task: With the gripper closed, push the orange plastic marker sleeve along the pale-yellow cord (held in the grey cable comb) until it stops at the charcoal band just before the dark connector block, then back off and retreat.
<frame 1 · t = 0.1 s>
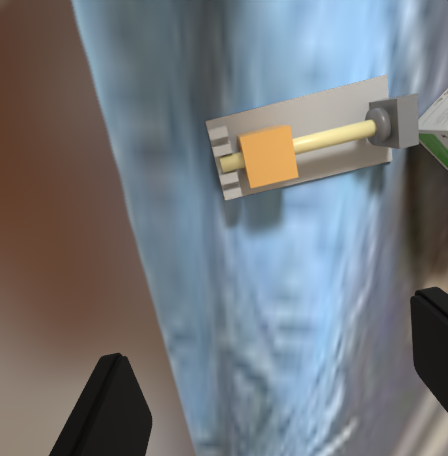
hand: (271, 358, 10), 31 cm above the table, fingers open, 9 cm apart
marker sleeve: (265, 154, 34), point 4 cm above the table, slide at 0.0 cm
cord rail: (300, 141, 38), on the table
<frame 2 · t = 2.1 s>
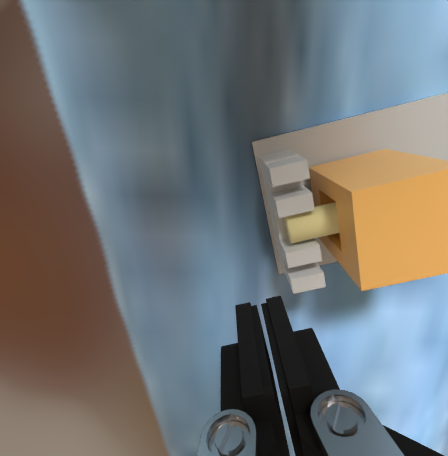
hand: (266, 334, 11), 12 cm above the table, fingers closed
marker sleeve: (374, 210, 17), point 4 cm above the table, slide at 0.0 cm
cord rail: (418, 176, 21), on the table
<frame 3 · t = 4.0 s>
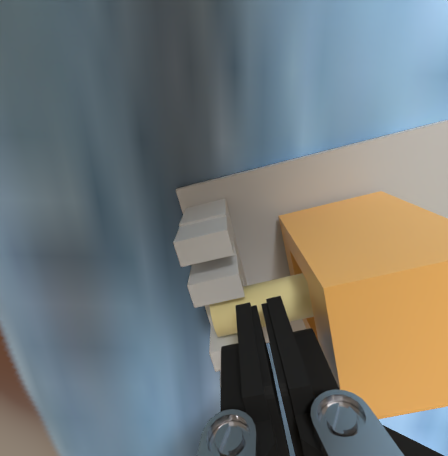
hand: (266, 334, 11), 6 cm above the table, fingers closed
marker sleeve: (367, 285, 12), point 4 cm above the table, slide at 1.3 cm, touching gripper
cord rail: (400, 229, 16), on the table
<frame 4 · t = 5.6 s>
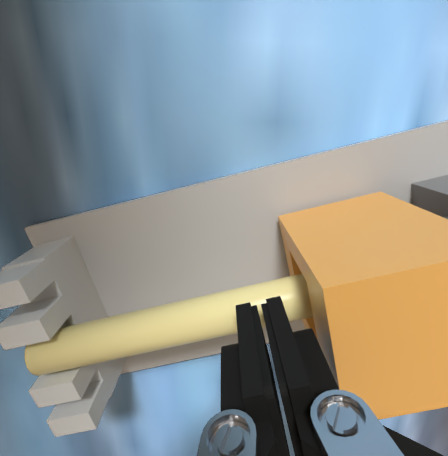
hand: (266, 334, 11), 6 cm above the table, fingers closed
marker sleeve: (366, 286, 12), point 4 cm above the table, slide at 9.3 cm, touching gripper
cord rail: (251, 264, 17), on the table
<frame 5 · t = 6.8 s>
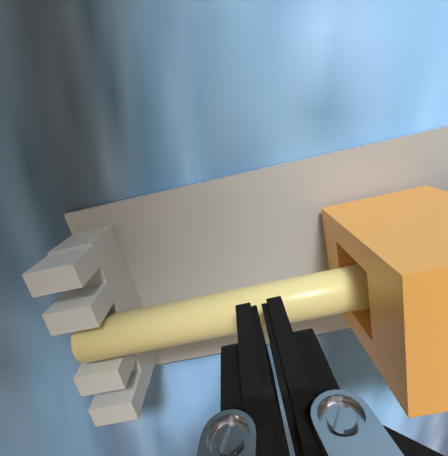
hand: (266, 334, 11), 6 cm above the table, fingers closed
marker sleeve: (419, 279, 12), point 4 cm above the table, slide at 9.2 cm
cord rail: (290, 256, 16), on the table
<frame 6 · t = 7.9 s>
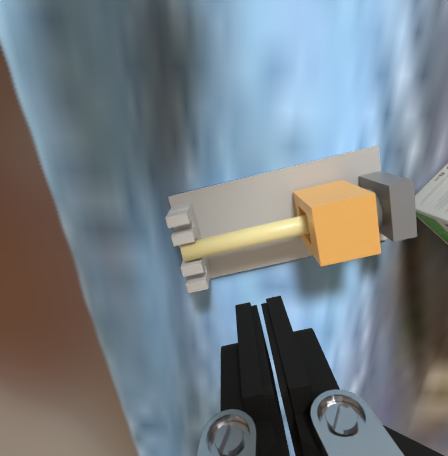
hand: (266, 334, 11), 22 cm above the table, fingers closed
marker sleeve: (332, 219, 28), point 4 cm above the table, slide at 9.2 cm
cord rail: (279, 217, 32), on the table
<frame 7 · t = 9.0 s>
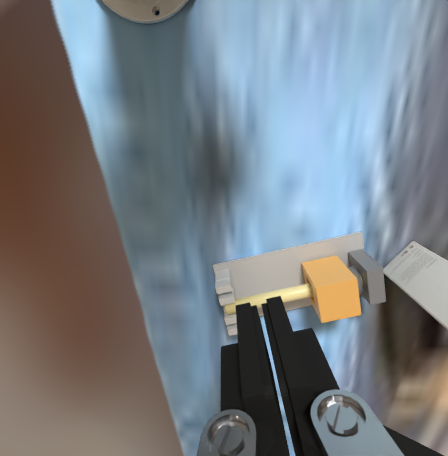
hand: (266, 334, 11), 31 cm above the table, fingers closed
marker sleeve: (329, 287, 41), point 4 cm above the table, slide at 9.2 cm
skincare box: (414, 269, 45), on the table
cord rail: (291, 278, 45), on the table
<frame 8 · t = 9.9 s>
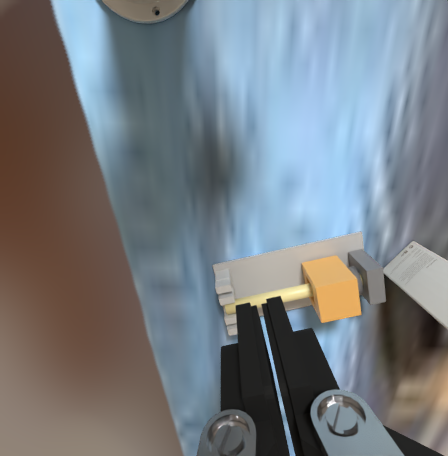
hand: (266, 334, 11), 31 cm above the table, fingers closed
marker sleeve: (329, 287, 41), point 4 cm above the table, slide at 9.2 cm
skincare box: (414, 269, 45), on the table
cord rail: (291, 278, 45), on the table
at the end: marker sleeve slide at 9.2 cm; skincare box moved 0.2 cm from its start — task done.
